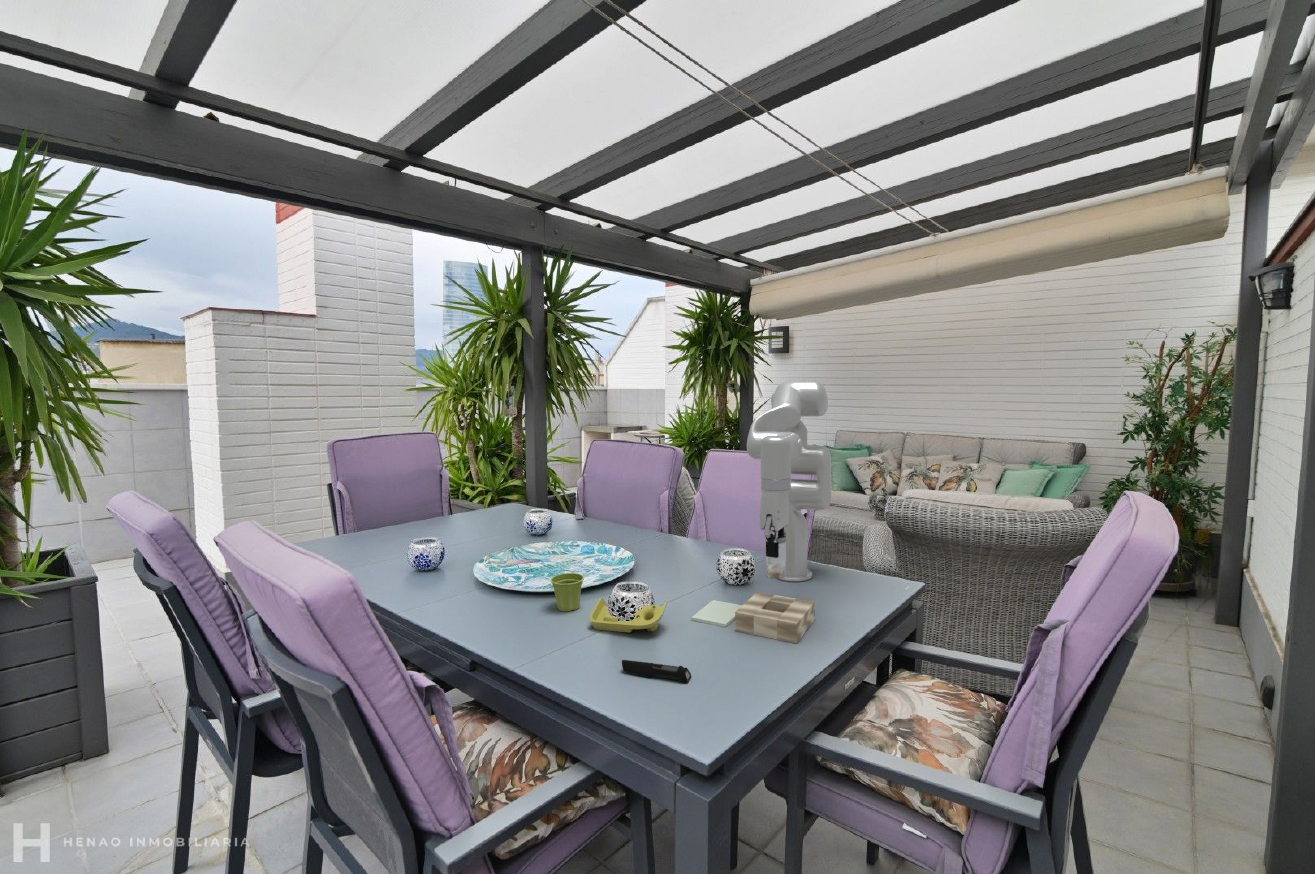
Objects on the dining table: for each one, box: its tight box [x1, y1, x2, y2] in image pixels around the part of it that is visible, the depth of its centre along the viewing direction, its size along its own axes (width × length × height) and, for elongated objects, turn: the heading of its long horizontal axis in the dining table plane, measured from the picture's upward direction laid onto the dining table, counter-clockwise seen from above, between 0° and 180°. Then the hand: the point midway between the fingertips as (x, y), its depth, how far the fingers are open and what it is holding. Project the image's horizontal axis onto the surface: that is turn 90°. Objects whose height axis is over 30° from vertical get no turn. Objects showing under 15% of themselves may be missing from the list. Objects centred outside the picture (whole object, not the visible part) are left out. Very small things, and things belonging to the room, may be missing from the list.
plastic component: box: [589, 597, 668, 633], centre depth 157 cm, size 20×7×10 cm
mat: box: [690, 599, 743, 628], centre depth 164 cm, size 14×10×1 cm
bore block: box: [734, 591, 816, 644], centre depth 156 cm, size 16×16×5 cm
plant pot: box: [550, 572, 585, 612], centre depth 171 cm, size 9×9×9 cm
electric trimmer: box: [621, 659, 692, 685], centre depth 131 cm, size 4×16×3 cm, turn 71°
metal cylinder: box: [765, 535, 786, 580], centre depth 155 cm, size 5×5×10 cm
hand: (775, 552), depth 155 cm, fingers closed on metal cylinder, 5 cm apart
